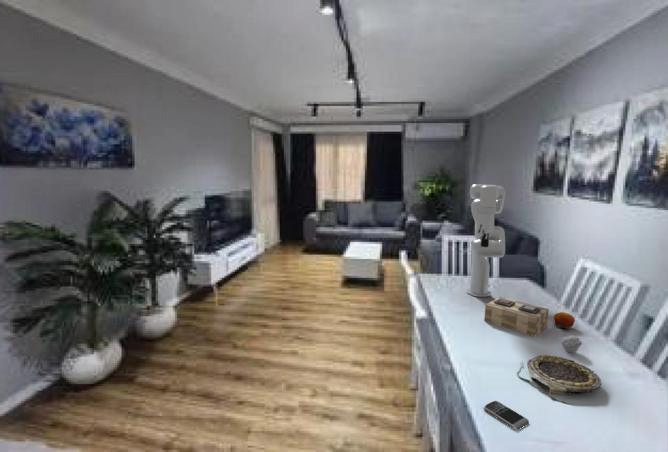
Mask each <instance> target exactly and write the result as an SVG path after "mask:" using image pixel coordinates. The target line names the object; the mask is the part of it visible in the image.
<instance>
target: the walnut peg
mask: <svg viewBox="0 0 668 452" xmlns="http://www.w3.org/2000/svg"><path fill="white" fill-rule="evenodd" d="M499 302H500V303H504V304H509V303H511V301H507V300H503V299H502V300H500V301H499Z"/></svg>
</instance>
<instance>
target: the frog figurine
mask: <svg viewBox="0 0 668 452" xmlns="http://www.w3.org/2000/svg"><path fill="white" fill-rule="evenodd" d="M561 344H562V347H563V349H564V351H566V352H567V353H571V354H572V353H573V354H574V353H576V352H577V351H578V350H579V348H580V347H581V346H582V344H583V343H582V341H581V339H580V337H579V336H575V335H570V336H564V337H563V338H562V340H561Z"/></svg>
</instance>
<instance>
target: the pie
mask: <svg viewBox="0 0 668 452" xmlns="http://www.w3.org/2000/svg"><path fill="white" fill-rule="evenodd" d="M523 361H524V360H523ZM523 361H521V362H520V368H518V371H517V373H516V374H517V376H518V377H519V378H521V380H525V381H528V382H529V384H530V385H531V386H533V387H534V388H536V389H537V388H538V389H542V386H541V385H540V384H539V383H538V382H540V383H541V384H544V385H545V386H547V387H548V388H549V391H548V394H549V396H550V398H551V399H553V400H556V401H557V402H559V403H560V402H562V403H566V404H567V402H565V401H560V400H558V399H557V398H554V396H553V394H559V395H563V396H564V394H565V396H566V395H567V394H568V395H570V394H571V395H572V394H576V395H579V394H584V393H585V394H586V393H593V391H594V392H595V391H597V390H599V389H601V387H602V380H601V378H600V376H599V375H598V374H597V373H595V371H594V370H592V369H591V368H589V367H588V366H587V367H586V366H585V365H584V364H580V363H579V362H576V360H572V359H568V358H566V357H562V356H557V355H550V354H541V355H536V356H534V357H532V358H529V359H528V360H527V361H526V367H527V371H528V373H529V374H528V375H529V376H530V378H531V380H529V379H526V378H523V377H520V374H521V373H522V372H521V369H522V368H523V369H525V368H524V365H525V364H524V362H523ZM523 369H522V370H523ZM520 372H521V373H520ZM519 373H520V374H519ZM534 379H536V380H537V381H538V382H536V381H535V380H534Z"/></svg>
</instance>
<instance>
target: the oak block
mask: <svg viewBox="0 0 668 452" xmlns="http://www.w3.org/2000/svg"><path fill="white" fill-rule="evenodd" d="M502 299H503V300H507V301H511V303H509V304H504V303H500V302H499V301H500V300H502ZM525 306H531V307H534V308H536V310H534V311H530V310H527V309H523V308H524V307H525ZM548 319H549V309H548V308H546V307H542V306H539V305H538V306H537V305H533V304H530V303H526V302H521V301H519V300H515V299H510V298H508V297H507V298H506V297H502V296H499V297H497V298H495V299H493V300H492V301H490V302H488V303H485V308H484V319H483V320H484V322H487V323H490V324H493V325H497V326H500V327H503V328H507V329H509V330H513V331H516V332H519V333H523V334H526V335H529V336H532V337H536V336H538V334H539V333H541V331H543V330H544V329H545V328H546V327H547V326H548Z"/></svg>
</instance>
